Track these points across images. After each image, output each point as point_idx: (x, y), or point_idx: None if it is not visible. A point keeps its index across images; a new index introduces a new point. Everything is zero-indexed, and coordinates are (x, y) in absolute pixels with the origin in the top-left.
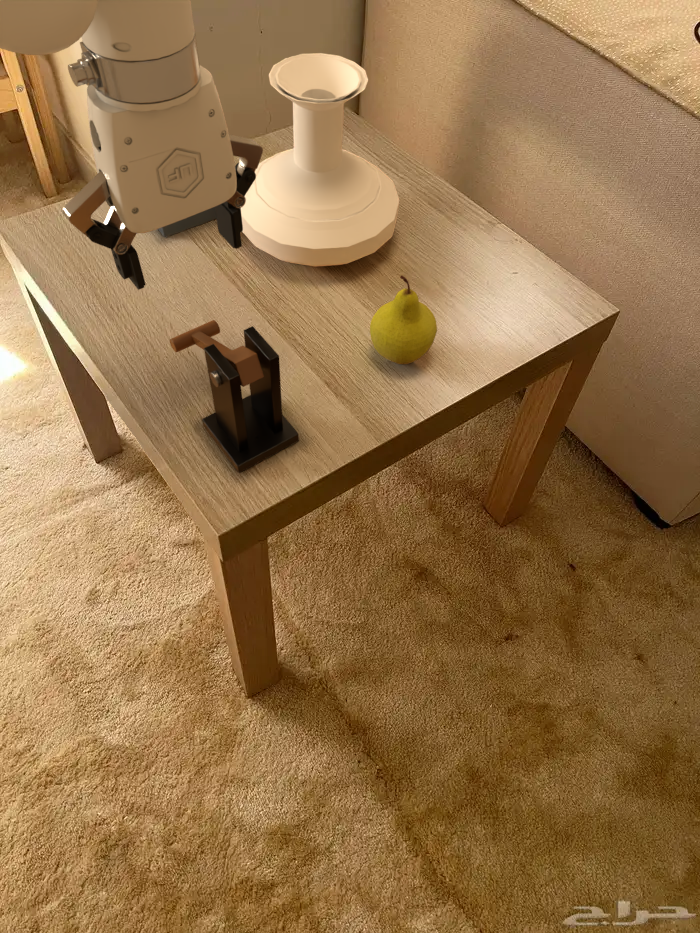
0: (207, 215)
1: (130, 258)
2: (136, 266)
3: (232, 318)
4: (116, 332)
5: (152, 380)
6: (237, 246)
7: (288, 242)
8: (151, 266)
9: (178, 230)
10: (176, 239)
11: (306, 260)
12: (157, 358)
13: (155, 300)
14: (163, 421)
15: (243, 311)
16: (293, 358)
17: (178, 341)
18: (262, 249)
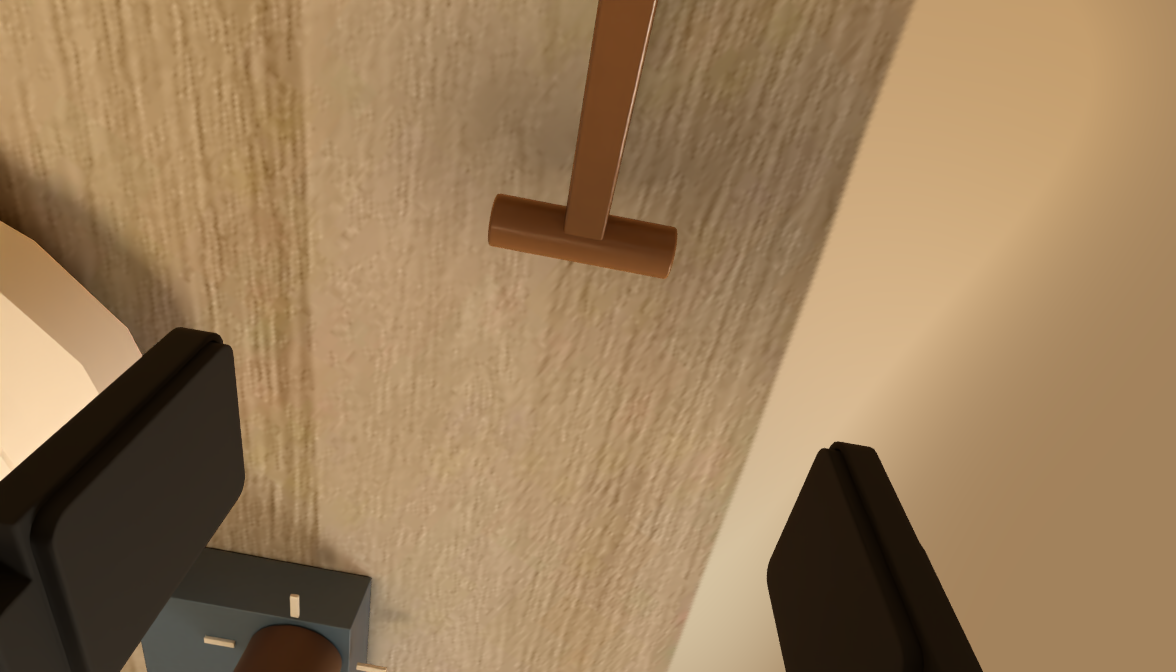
0: (239, 569)
1: (963, 641)
2: (906, 566)
3: (388, 276)
4: (664, 437)
5: (717, 253)
6: (202, 336)
7: (51, 350)
8: (454, 534)
9: (330, 575)
10: (350, 558)
11: (43, 268)
12: (650, 304)
13: (517, 453)
14: (814, 104)
15: (345, 275)
16: (321, 4)
17: (656, 247)
18: None
